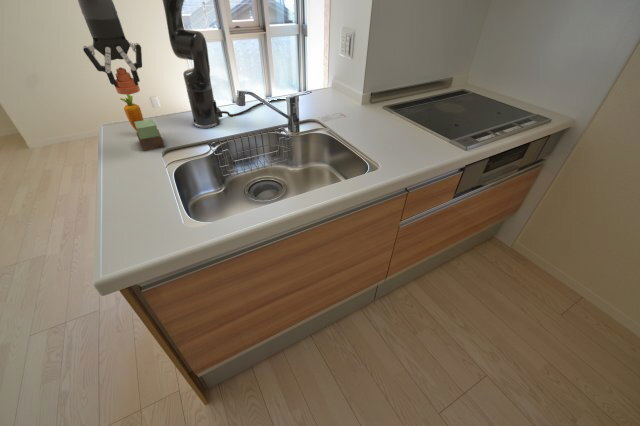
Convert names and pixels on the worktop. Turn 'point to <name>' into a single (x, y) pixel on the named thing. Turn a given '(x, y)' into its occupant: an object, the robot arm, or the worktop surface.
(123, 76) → the cone
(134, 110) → the carrot
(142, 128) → the top block
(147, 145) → the base block
